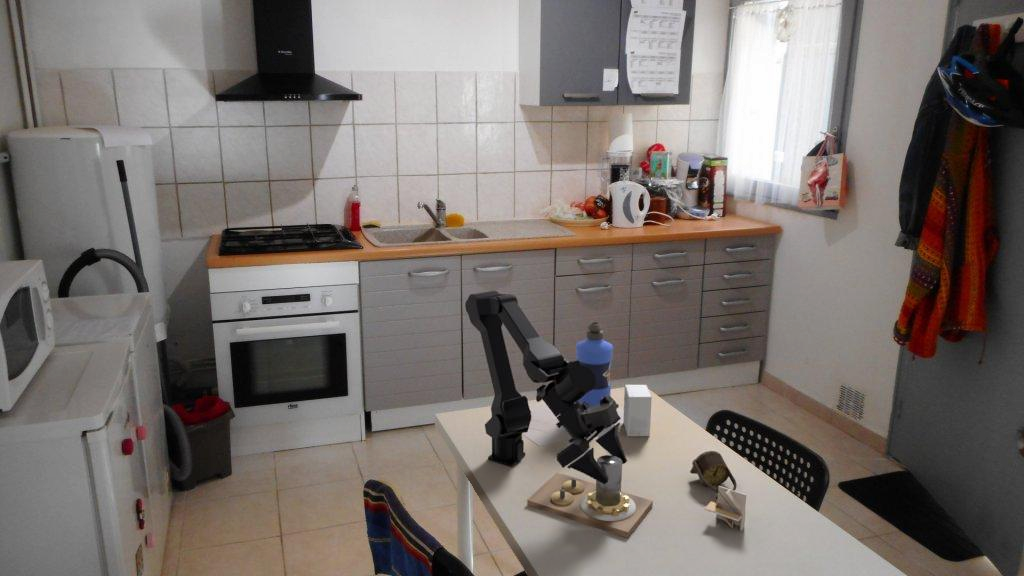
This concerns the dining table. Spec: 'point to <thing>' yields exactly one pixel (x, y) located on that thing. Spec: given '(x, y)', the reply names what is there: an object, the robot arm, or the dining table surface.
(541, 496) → the gear board
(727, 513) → the architectural model
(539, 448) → the dining table surface
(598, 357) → the water bottle
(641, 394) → the small box
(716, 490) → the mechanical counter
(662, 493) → the dining table surface
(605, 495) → the loose gear
